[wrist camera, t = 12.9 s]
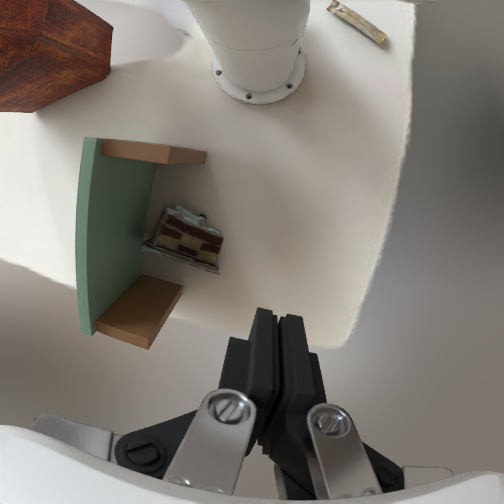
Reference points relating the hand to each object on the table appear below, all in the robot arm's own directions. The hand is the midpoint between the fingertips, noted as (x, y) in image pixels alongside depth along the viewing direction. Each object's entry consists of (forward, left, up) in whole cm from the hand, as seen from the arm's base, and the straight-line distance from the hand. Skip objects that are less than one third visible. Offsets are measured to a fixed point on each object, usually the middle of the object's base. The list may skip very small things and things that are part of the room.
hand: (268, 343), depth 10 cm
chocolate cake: (+6, -10, -29) cm, 31 cm away
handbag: (-18, -39, -29) cm, 52 cm away
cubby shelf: (+5, -14, -29) cm, 33 cm away
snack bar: (-32, +6, -29) cm, 44 cm away
